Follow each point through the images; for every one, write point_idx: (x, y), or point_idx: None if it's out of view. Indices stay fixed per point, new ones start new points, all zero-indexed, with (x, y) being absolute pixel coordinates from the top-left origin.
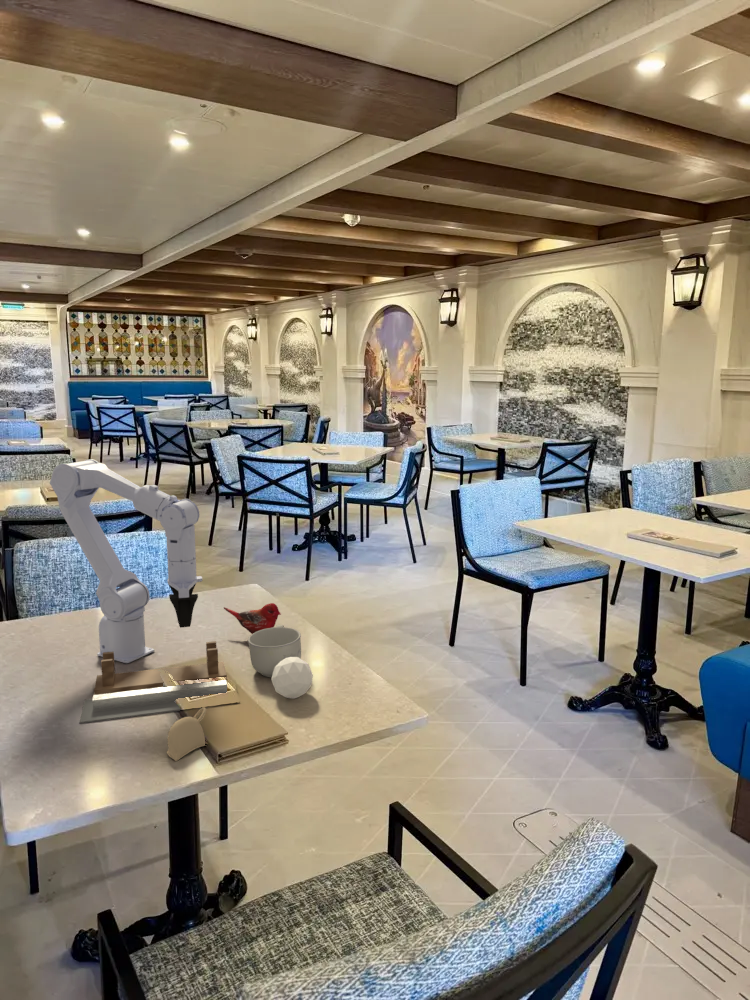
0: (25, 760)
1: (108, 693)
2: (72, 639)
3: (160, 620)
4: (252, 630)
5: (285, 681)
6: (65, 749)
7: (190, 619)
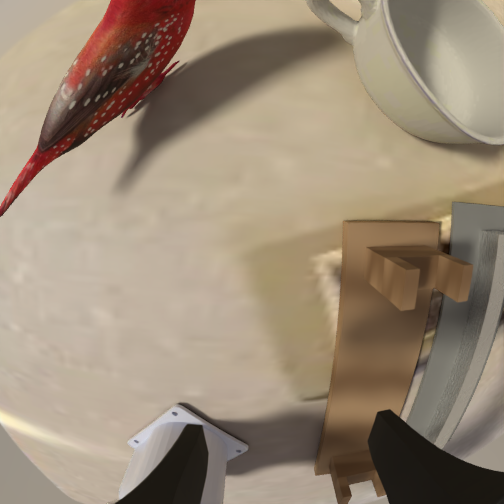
0: (478, 445)
1: (435, 442)
2: (113, 481)
3: (7, 357)
4: (136, 97)
5: None
6: (486, 425)
7: (410, 429)
